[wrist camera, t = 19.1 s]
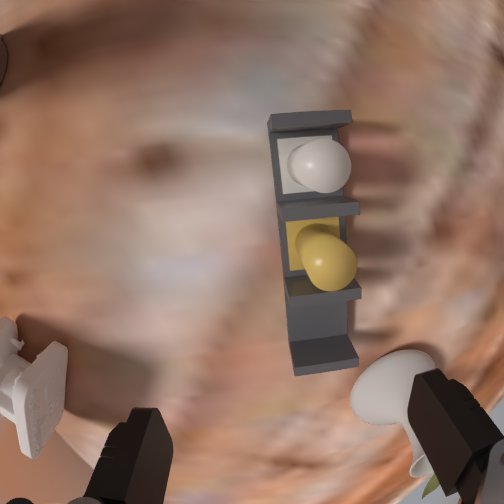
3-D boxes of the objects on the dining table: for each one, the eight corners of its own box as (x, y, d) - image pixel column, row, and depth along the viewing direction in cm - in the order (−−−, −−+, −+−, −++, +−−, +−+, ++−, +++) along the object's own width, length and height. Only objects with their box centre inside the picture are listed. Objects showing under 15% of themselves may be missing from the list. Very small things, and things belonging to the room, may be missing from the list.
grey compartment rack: (267, 123, 27) (270, 114, 22) (333, 118, 27) (350, 110, 22) (288, 344, 33) (294, 376, 28) (344, 337, 33) (358, 366, 27)
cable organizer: (11, 303, 32) (-45, 346, 21) (76, 340, 33) (27, 399, 22) (13, 381, 36) (-26, 426, 25) (68, 414, 37) (36, 468, 26)
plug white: (283, 146, 27) (294, 141, 20) (324, 142, 26) (348, 137, 20) (288, 187, 27) (301, 195, 21) (329, 183, 27) (353, 190, 21)
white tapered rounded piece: (332, 411, 36) (379, 591, 12) (368, 336, 33) (475, 533, 9) (414, 414, 37) (484, 553, 13) (453, 347, 34) (564, 484, 10)
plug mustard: (293, 225, 28) (305, 245, 22) (332, 221, 28) (356, 239, 22) (296, 264, 29) (309, 294, 23) (335, 259, 29) (357, 287, 22)
